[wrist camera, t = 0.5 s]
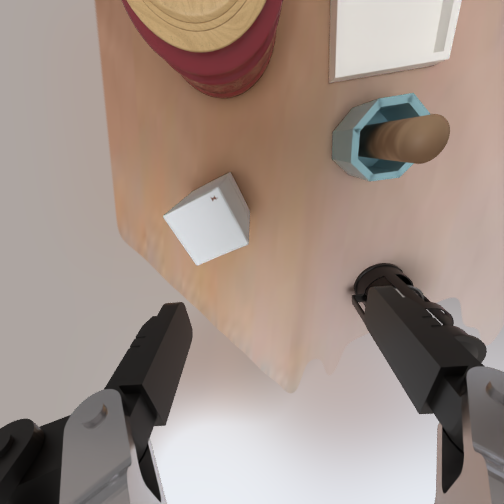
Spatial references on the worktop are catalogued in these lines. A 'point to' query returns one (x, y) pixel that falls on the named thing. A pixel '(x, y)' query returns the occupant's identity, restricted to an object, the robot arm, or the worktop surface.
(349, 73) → the white tray
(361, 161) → the teal pot
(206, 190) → the supplement box
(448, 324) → the french press
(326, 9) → the worktop surface
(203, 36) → the canister
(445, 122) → the walnut peg
